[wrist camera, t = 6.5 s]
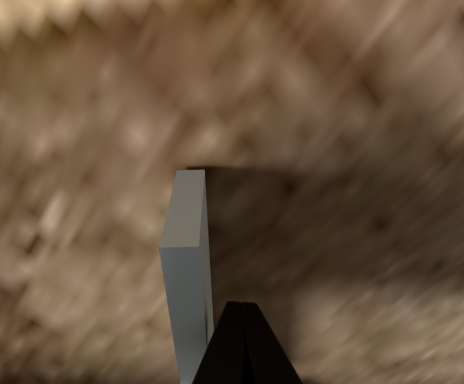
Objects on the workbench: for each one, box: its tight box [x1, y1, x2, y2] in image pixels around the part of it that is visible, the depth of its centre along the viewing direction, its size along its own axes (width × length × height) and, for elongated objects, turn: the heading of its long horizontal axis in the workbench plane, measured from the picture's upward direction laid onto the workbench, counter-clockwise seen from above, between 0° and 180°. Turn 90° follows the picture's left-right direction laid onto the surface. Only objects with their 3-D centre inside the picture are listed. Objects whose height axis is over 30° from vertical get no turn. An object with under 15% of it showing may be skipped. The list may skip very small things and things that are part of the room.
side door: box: [159, 170, 214, 384], centre depth 11 cm, size 10×1×4 cm, turn 0°
